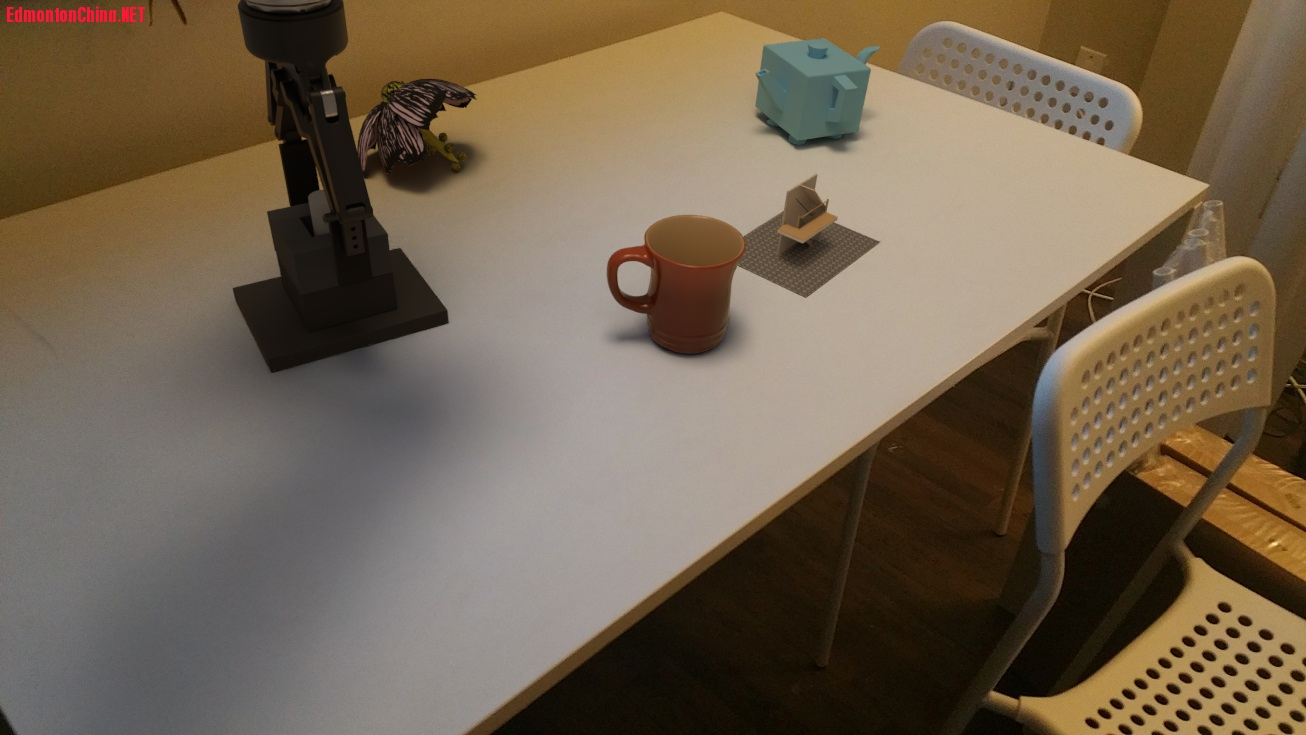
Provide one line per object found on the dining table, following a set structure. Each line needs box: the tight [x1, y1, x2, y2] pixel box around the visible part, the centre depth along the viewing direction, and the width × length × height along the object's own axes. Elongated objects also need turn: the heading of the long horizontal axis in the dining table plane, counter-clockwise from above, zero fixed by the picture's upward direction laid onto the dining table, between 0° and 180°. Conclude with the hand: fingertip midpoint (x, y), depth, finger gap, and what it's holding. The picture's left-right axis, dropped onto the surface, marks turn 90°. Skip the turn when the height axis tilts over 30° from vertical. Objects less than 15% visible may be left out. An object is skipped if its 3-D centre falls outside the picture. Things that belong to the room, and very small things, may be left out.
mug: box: [606, 214, 746, 355], centre depth 88 cm, size 12×9×10 cm
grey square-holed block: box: [266, 203, 392, 295], centre depth 86 cm, size 8×8×4 cm
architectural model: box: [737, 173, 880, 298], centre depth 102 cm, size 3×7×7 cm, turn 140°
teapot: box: [754, 37, 881, 145], centre depth 125 cm, size 16×18×11 cm
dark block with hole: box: [275, 252, 397, 333], centre depth 89 cm, size 8×8×4 cm
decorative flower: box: [356, 78, 478, 177], centre depth 111 cm, size 14×12×15 cm
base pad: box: [232, 189, 449, 373], centre depth 87 cm, size 16×12×12 cm
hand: (329, 243), depth 86 cm, fingers open, 13 cm apart
